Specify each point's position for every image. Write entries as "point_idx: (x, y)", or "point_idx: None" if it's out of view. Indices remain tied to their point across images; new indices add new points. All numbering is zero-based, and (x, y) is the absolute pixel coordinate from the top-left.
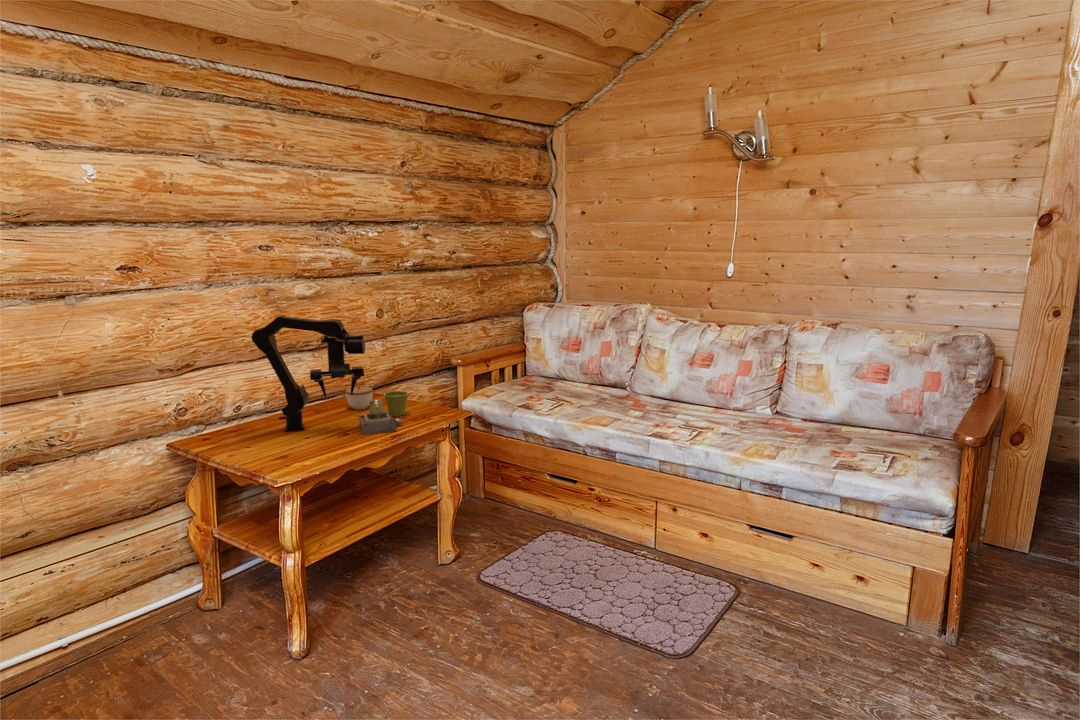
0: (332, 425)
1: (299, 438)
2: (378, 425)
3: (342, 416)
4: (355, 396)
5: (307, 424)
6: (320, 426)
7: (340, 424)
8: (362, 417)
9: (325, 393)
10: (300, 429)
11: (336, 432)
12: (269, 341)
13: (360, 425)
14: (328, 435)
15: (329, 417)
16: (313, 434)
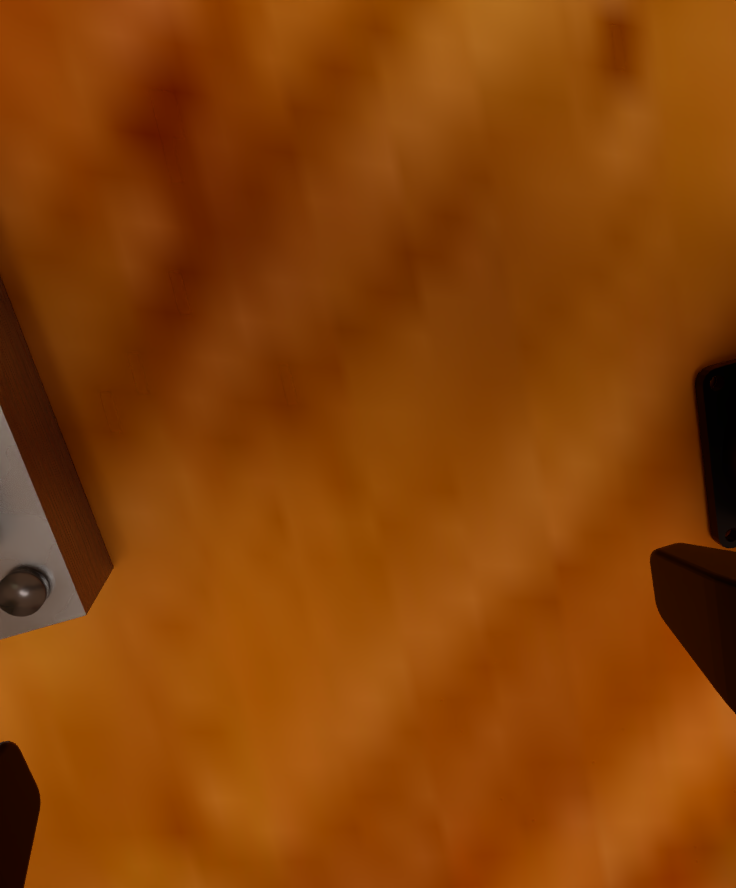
0: (417, 523)
1: (701, 34)
2: None
3: (376, 825)
4: None
5: None
6: (539, 493)
7: (335, 555)
8: (15, 552)
9: (723, 574)
10: (731, 362)
11: (311, 238)
12: None
13: (42, 416)
14: (383, 116)
15: (501, 792)
16: (567, 185)
